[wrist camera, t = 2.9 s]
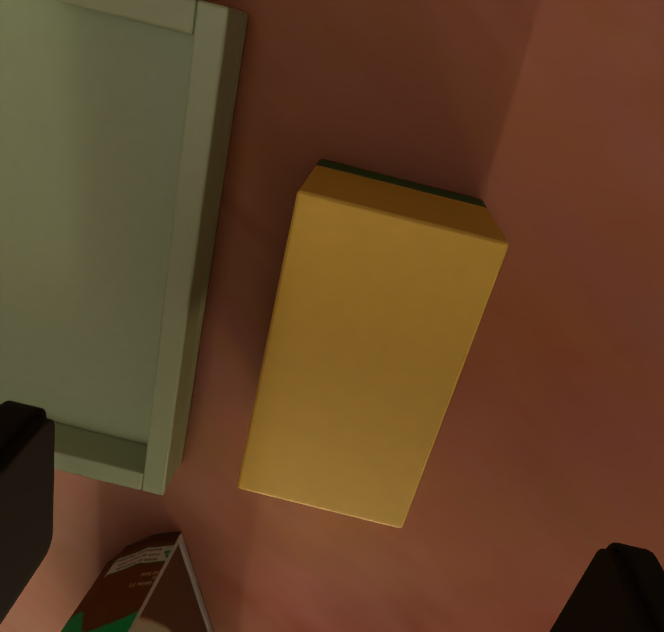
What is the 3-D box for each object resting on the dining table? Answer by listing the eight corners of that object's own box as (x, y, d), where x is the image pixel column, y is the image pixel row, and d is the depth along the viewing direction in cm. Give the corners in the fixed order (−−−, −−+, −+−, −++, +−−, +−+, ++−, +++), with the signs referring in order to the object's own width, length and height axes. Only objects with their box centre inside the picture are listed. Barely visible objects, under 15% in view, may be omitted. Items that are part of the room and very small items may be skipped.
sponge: (483, 199, 17) (510, 242, 13) (400, 439, 21) (402, 530, 17) (319, 157, 17) (297, 189, 13) (266, 406, 21) (236, 489, 17)
